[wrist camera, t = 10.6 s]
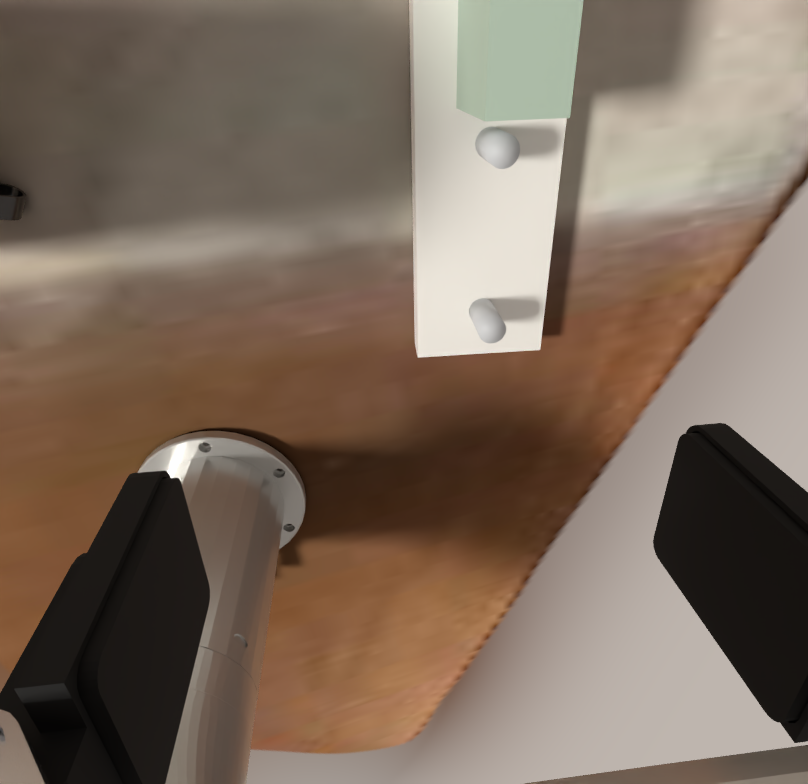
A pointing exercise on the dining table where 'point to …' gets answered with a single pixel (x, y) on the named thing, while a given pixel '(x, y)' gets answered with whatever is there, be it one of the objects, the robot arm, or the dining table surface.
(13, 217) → the coffee press
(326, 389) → the dining table surface
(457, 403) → the dining table surface
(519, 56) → the tall sage green block
